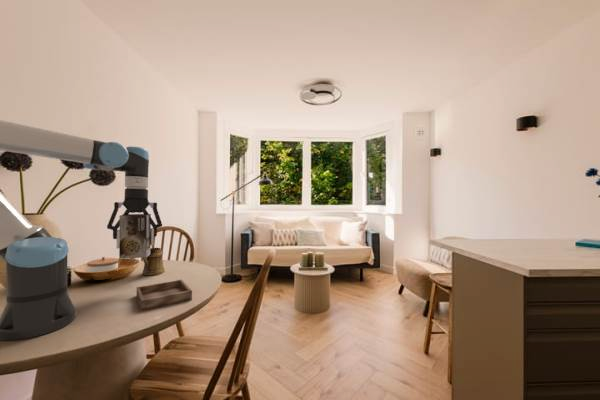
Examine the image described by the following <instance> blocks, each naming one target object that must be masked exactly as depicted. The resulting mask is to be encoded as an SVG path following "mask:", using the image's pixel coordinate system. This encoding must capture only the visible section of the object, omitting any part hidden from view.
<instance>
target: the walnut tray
mask: <svg viewBox="0 0 600 400" xmlns="http://www.w3.org/2000/svg"><path fill="white" fill-rule="evenodd" d="M136 298H137V302H138V305H139V308H140V310H141V311H146V310H151V309H156V308H160V307H164V306H169V305H174V304H179V303H182V302H187V301H192V300H193V290H192V289H191V287H189V285H187V284H186V283H185V282H184V280H183V279H178V280H177V279H176V280H171V281H165V282H159V283H154V284H147V285H142V286H137V287H136Z"/></svg>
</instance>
